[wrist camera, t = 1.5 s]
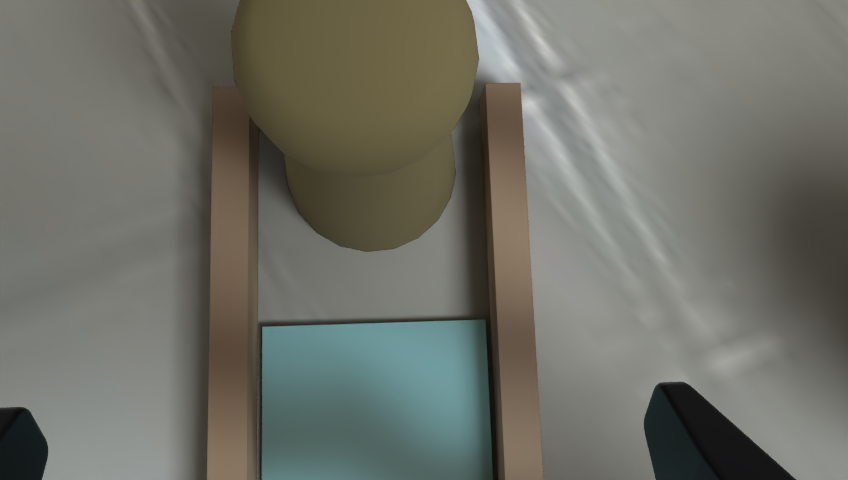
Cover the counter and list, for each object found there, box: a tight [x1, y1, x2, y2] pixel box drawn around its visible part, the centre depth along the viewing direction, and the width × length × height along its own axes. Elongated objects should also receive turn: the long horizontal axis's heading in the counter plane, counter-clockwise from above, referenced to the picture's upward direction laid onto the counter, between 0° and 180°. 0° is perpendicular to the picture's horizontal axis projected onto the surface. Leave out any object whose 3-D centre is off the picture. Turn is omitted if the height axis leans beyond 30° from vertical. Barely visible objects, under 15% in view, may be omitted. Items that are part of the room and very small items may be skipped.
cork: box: [231, 0, 479, 252], centre depth 17 cm, size 6×6×11 cm
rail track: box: [207, 83, 543, 480], centre depth 21 cm, size 20×10×2 cm, turn 2°
